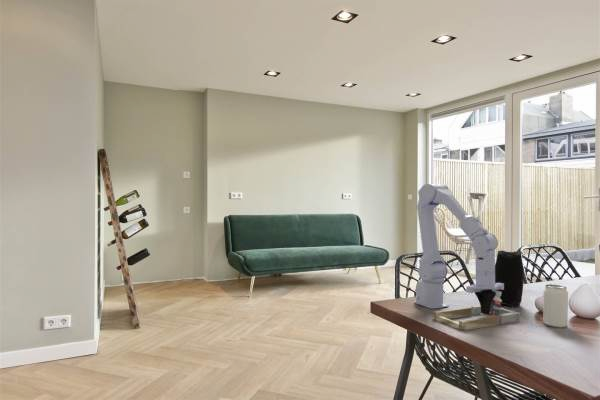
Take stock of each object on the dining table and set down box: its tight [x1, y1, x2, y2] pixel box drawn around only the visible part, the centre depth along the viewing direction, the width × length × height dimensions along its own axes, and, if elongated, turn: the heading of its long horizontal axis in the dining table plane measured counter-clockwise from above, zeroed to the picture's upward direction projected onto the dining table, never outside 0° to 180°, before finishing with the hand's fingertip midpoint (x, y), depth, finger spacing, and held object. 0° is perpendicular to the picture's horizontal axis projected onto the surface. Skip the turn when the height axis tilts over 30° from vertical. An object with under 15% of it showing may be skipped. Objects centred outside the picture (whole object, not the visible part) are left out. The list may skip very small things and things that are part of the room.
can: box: [542, 284, 569, 329], centre depth 127 cm, size 6×6×12 cm
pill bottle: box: [480, 290, 503, 317], centre depth 133 cm, size 5×5×9 cm
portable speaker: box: [495, 250, 524, 309], centre depth 150 cm, size 9×9×20 cm
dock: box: [470, 304, 520, 325], centre depth 134 cm, size 12×8×2 cm, turn 25°
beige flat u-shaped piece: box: [433, 306, 500, 331], centre depth 129 cm, size 12×15×2 cm
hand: (485, 313), depth 131 cm, fingers closed, pressing on pill bottle
